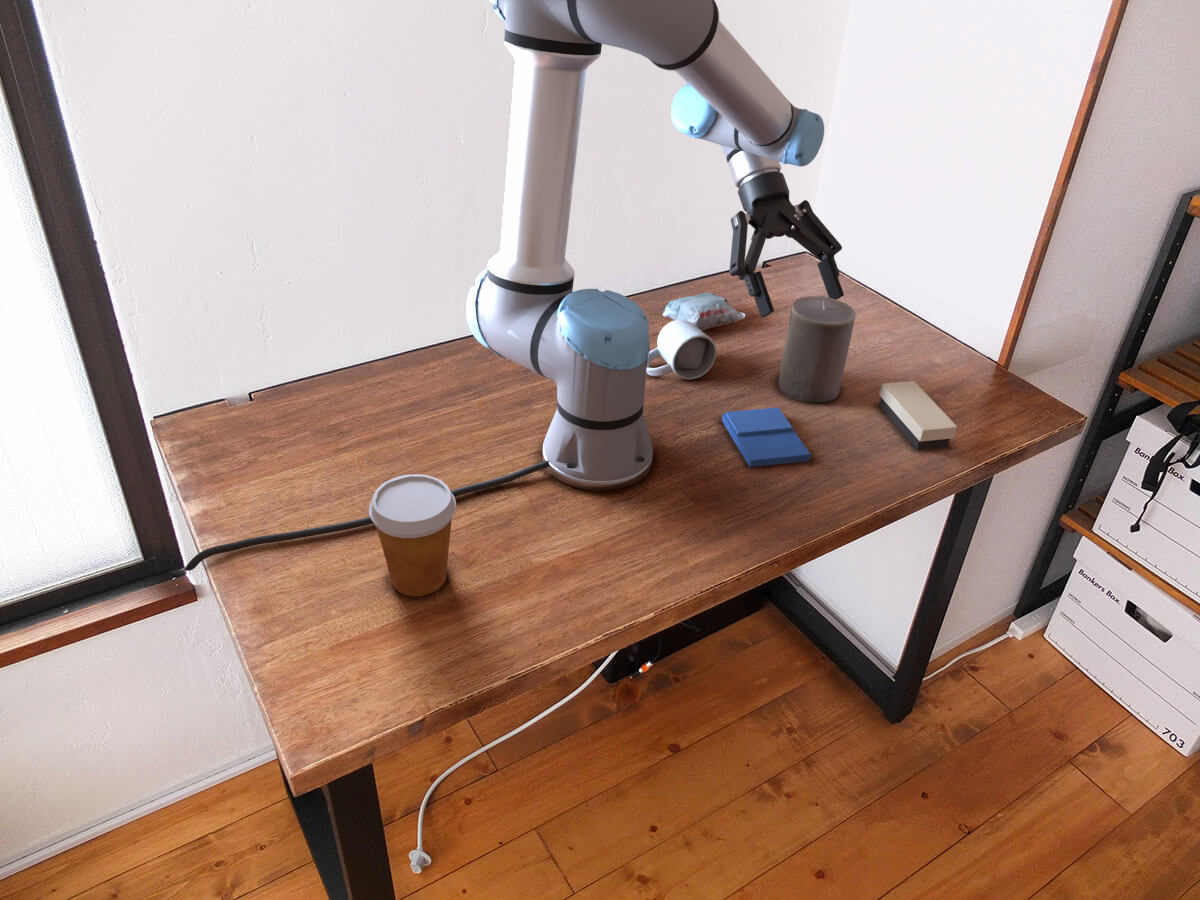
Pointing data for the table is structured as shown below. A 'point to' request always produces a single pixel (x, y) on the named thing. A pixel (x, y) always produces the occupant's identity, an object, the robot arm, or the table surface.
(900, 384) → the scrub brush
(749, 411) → the blue dish cloth
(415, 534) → the disposable coffee cup
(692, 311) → the packaged food
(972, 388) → the table surface
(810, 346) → the pillar candle
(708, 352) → the ceramic mug
